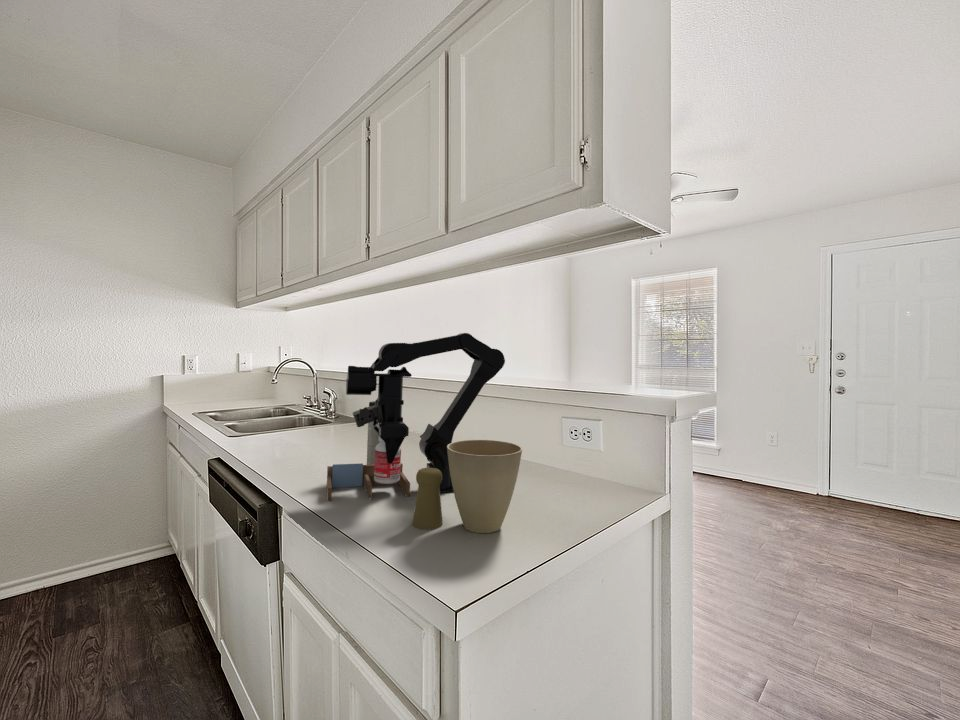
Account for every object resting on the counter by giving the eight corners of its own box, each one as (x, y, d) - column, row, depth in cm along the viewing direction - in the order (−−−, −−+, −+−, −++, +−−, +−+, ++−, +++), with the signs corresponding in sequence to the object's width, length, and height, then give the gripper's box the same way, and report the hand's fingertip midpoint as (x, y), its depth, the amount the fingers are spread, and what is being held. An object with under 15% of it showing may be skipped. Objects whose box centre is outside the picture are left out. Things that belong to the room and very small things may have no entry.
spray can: (396, 474, 127) (398, 402, 127) (378, 479, 121) (381, 404, 121) (378, 470, 131) (381, 400, 130) (360, 475, 125) (363, 401, 125)
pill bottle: (392, 485, 107) (393, 438, 107) (368, 482, 109) (370, 435, 109) (404, 479, 113) (406, 434, 113) (382, 476, 115) (383, 432, 115)
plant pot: (459, 509, 101) (462, 437, 101) (526, 519, 96) (529, 443, 96) (431, 534, 87) (434, 449, 86) (508, 547, 82) (511, 458, 82)
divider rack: (401, 482, 120) (402, 461, 120) (409, 496, 109) (410, 472, 109) (326, 486, 114) (327, 463, 113) (327, 501, 103) (328, 476, 103)
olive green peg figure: (437, 531, 88) (439, 473, 88) (407, 527, 89) (409, 470, 89) (446, 520, 94) (448, 466, 94) (418, 516, 95) (420, 463, 95)
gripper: (352, 391, 117) (350, 452, 117) (358, 399, 99) (356, 471, 99) (396, 391, 120) (394, 451, 121) (410, 399, 103) (407, 469, 103)
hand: (387, 459), depth 111 cm, fingers closed on pill bottle, 6 cm apart
